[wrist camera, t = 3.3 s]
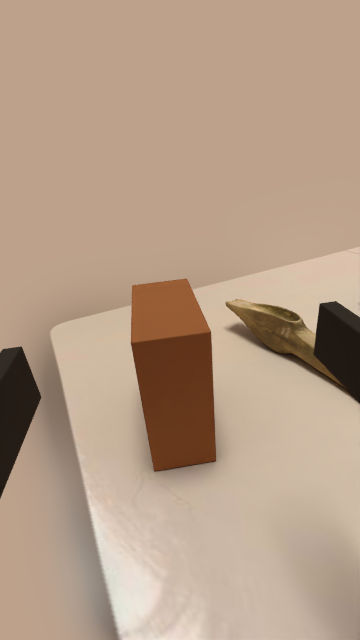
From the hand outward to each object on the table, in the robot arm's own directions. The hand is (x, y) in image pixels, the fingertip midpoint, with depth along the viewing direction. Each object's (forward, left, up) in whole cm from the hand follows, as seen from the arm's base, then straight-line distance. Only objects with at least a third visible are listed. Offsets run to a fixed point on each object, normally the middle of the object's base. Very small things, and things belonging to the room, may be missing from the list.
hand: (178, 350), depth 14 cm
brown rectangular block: (+8, +6, -14) cm, 17 cm away
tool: (+22, -2, -14) cm, 26 cm away
